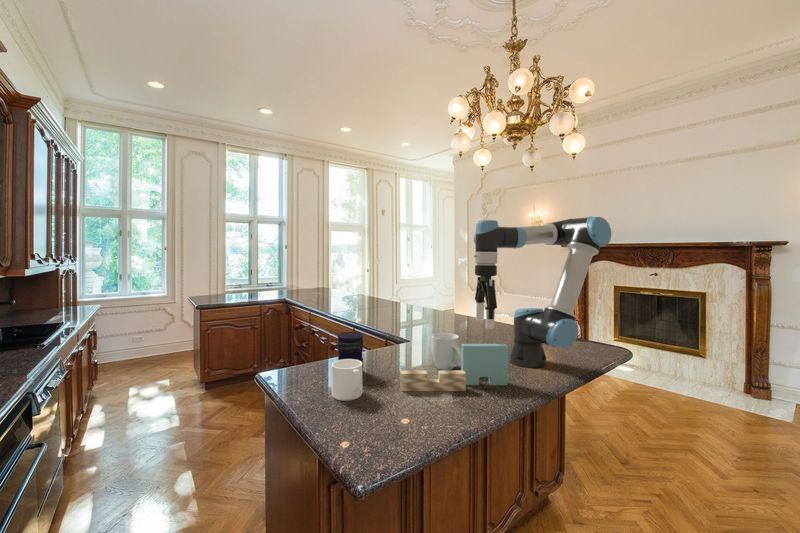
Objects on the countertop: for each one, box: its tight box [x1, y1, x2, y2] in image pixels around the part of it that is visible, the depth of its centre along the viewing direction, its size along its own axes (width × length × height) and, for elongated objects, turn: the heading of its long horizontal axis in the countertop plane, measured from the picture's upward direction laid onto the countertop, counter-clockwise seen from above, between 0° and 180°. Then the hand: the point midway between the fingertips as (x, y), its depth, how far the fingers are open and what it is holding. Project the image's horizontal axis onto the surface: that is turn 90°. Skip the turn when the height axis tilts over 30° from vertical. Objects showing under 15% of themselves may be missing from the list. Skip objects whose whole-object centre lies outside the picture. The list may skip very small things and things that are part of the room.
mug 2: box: [430, 332, 461, 371], centre depth 141 cm, size 15×11×13 cm
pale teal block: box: [460, 343, 509, 386], centre depth 126 cm, size 16×3×14 cm, turn 91°
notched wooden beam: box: [399, 369, 467, 392], centre depth 121 cm, size 22×3×6 cm, turn 91°
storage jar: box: [336, 331, 364, 375], centre depth 136 cm, size 10×10×15 cm
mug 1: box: [331, 359, 363, 402], centre depth 115 cm, size 13×10×10 cm
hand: (484, 324), depth 125 cm, fingers open, 13 cm apart
